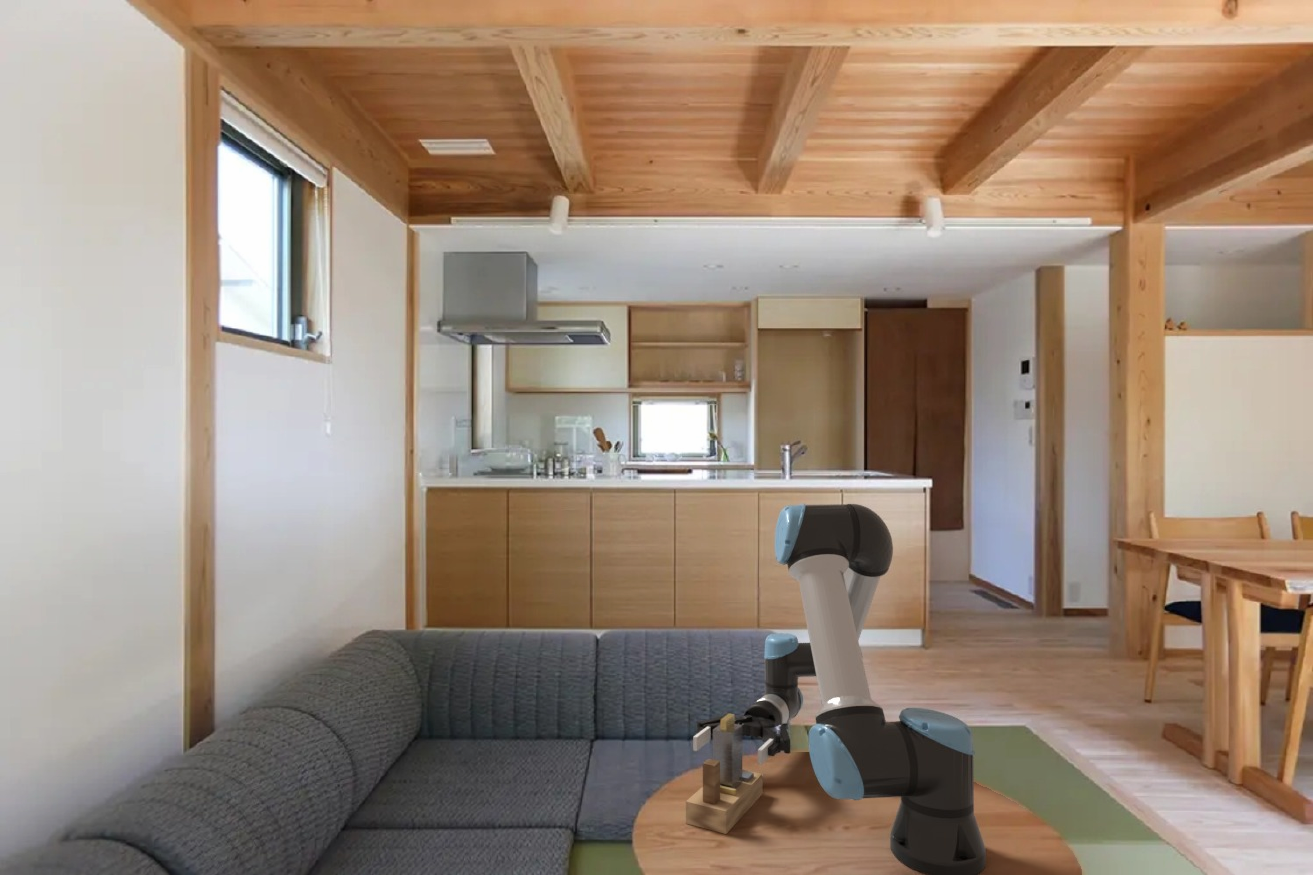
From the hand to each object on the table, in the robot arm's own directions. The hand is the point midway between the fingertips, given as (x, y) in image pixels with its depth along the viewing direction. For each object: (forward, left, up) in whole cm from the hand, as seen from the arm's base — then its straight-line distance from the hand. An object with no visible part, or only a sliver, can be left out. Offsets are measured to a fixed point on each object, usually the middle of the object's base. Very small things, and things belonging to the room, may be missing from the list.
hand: (726, 750), depth 146 cm
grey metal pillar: (0, 0, -6) cm, 6 cm away
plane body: (0, +1, -10) cm, 10 cm away
